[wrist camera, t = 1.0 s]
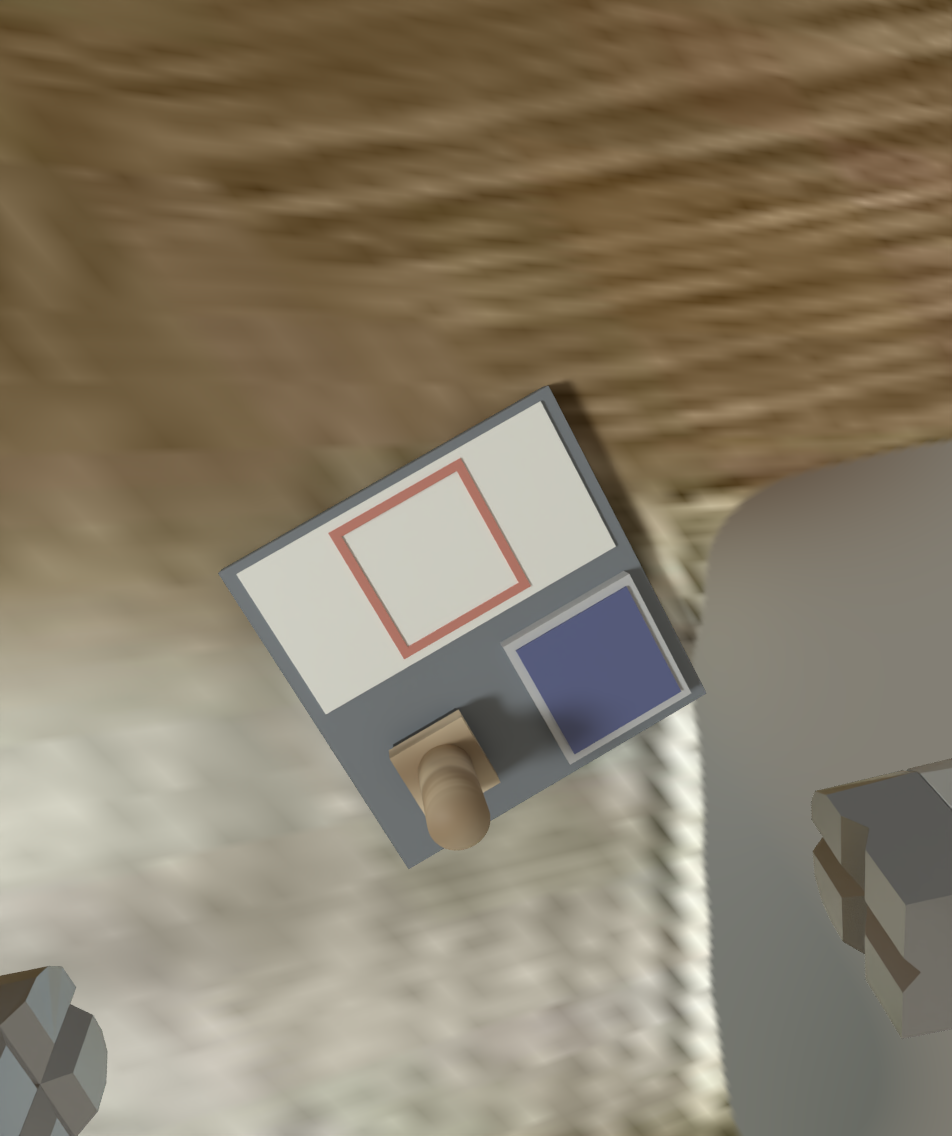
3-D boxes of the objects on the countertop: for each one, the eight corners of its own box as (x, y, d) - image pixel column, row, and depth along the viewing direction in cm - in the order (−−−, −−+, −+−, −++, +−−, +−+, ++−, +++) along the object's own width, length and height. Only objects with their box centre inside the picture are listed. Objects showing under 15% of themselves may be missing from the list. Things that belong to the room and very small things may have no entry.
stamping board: (698, 686, 50) (715, 699, 48) (407, 858, 49) (410, 880, 47) (543, 386, 46) (553, 384, 43) (221, 569, 45) (214, 577, 42)
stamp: (493, 766, 48) (521, 833, 40) (427, 805, 47) (441, 880, 40) (456, 703, 47) (476, 759, 39) (387, 743, 47) (394, 807, 39)
